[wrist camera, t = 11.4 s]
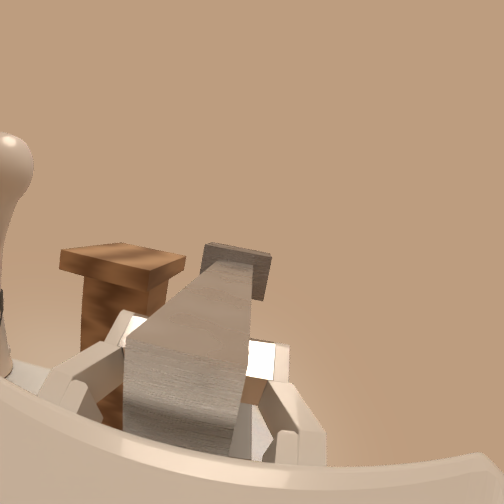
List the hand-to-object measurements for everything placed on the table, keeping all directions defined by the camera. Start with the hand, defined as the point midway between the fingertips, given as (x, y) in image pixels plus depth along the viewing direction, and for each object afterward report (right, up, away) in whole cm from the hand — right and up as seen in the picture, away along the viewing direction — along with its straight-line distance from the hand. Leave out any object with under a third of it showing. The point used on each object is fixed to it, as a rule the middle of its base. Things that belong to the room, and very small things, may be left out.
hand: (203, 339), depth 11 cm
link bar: (0, -1, +9) cm, 9 cm away
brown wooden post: (-17, -22, +26) cm, 39 cm away
